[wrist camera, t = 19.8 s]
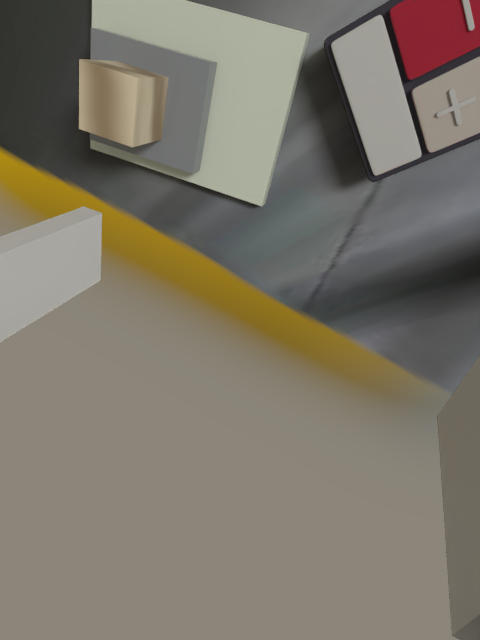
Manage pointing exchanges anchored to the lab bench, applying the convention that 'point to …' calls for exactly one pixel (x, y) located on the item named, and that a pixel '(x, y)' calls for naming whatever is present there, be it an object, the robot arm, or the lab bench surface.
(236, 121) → the board
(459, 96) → the calculator
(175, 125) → the tile
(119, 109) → the block
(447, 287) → the lab bench surface
